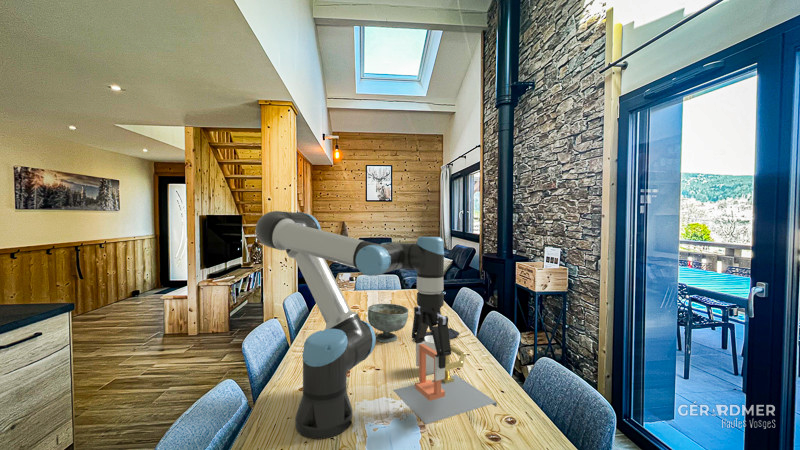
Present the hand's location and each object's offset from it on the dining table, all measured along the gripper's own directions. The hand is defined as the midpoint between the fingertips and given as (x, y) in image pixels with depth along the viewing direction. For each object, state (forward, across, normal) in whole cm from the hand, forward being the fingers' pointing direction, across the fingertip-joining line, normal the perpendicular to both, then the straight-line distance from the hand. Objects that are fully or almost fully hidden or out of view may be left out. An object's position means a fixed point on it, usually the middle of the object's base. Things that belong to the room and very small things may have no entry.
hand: (429, 371), depth 90 cm
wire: (+12, +7, -10) cm, 17 cm away
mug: (+13, +24, -16) cm, 31 cm away
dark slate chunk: (+13, +54, -40) cm, 68 cm away
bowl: (+13, +63, -18) cm, 66 cm away
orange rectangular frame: (+6, 0, 0) cm, 6 cm away
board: (+13, +6, -9) cm, 17 cm away
